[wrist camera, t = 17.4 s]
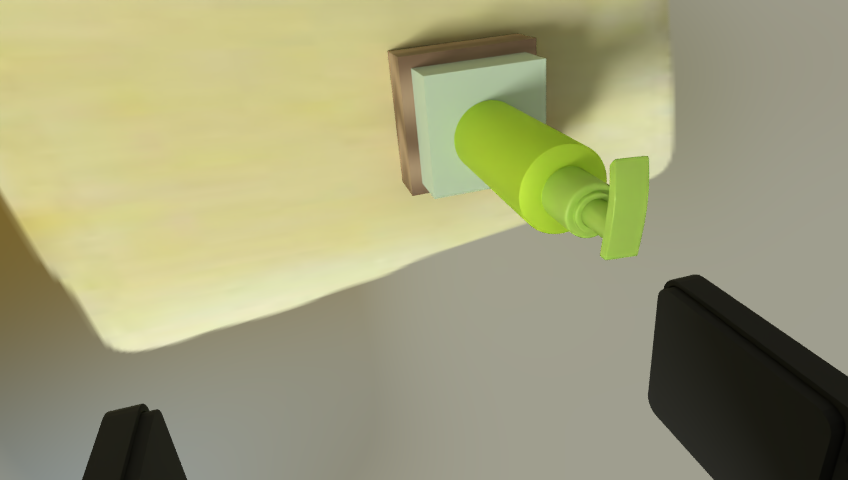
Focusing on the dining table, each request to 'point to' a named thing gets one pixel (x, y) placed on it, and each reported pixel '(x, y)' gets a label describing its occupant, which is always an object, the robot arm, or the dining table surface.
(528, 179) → the soap dispenser
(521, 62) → the pale green square tile
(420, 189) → the riser base
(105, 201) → the dining table surface
